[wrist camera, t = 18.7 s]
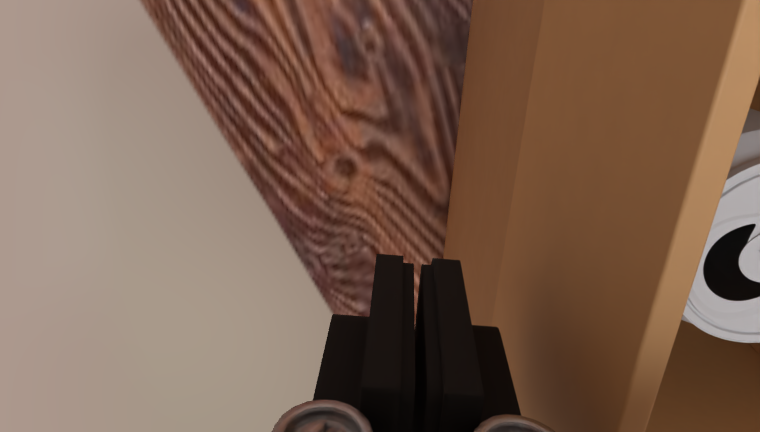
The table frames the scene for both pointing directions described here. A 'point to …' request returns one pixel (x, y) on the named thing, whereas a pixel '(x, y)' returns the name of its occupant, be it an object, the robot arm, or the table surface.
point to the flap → (617, 198)
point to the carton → (492, 209)
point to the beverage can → (733, 251)
